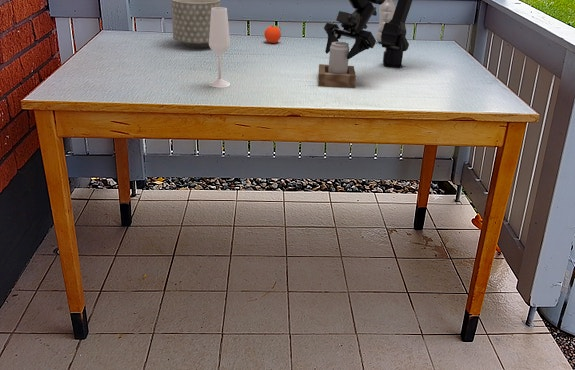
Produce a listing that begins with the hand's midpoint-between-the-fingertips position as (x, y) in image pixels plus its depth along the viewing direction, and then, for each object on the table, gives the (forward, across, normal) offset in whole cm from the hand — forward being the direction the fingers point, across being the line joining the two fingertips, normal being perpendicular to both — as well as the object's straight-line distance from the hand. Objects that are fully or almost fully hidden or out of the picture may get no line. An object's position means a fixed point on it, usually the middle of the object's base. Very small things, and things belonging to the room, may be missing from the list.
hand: (336, 55), depth 190 cm
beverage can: (+5, 0, +6) cm, 8 cm away
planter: (+10, -68, +3) cm, 69 cm away
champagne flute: (+29, -22, -16) cm, 40 cm away
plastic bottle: (-36, -23, +50) cm, 66 cm away
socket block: (+6, 0, +7) cm, 9 cm away
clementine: (-10, -52, +23) cm, 58 cm away
